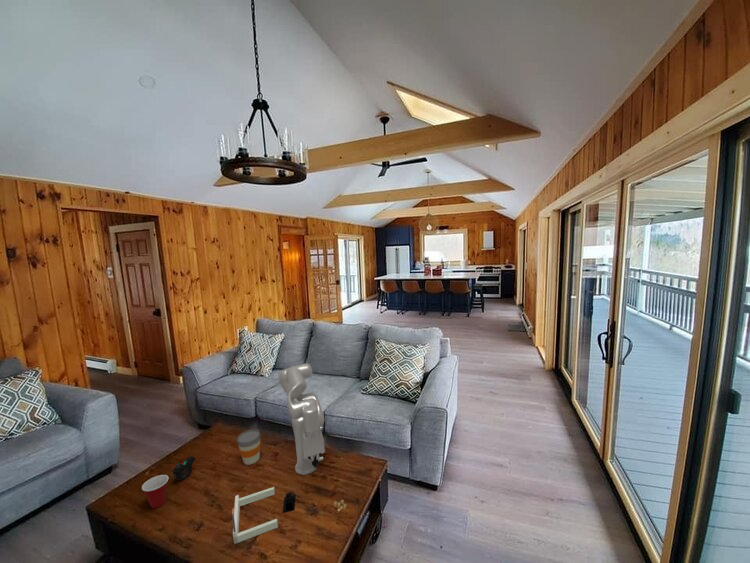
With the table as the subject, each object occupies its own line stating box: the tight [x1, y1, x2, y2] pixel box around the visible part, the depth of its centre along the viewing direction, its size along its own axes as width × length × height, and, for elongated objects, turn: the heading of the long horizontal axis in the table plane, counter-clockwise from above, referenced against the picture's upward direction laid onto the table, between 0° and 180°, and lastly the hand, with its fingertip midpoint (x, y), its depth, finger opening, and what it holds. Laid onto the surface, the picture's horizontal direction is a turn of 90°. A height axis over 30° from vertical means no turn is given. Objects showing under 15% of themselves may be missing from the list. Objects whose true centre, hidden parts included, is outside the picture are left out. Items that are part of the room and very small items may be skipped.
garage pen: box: [231, 486, 279, 545], centre depth 139 cm, size 18×21×13 cm
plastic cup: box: [141, 474, 170, 509], centre depth 149 cm, size 11×11×12 cm
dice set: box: [333, 499, 348, 512], centre depth 143 cm, size 5×5×2 cm
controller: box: [172, 456, 196, 481], centre depth 167 cm, size 4×12×10 cm, turn 165°
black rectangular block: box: [282, 492, 296, 514], centre depth 146 cm, size 12×7×5 cm, turn 11°
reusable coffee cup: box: [237, 428, 262, 466], centre depth 177 cm, size 13×13×15 cm
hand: (315, 466), depth 148 cm, fingers closed
